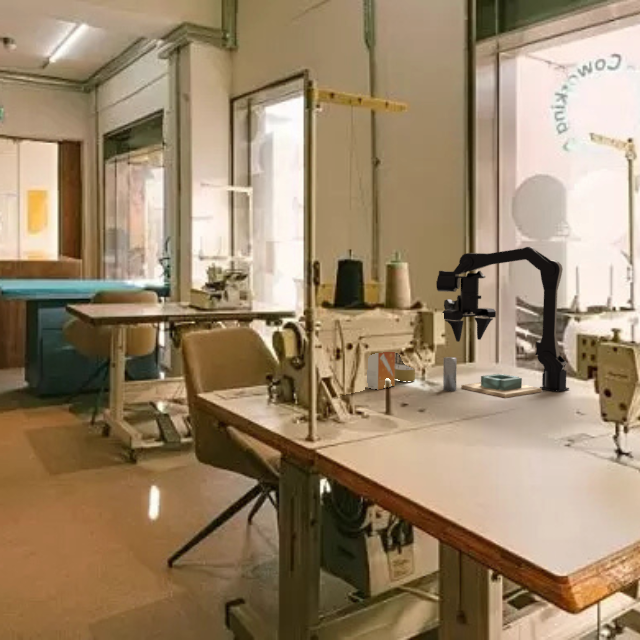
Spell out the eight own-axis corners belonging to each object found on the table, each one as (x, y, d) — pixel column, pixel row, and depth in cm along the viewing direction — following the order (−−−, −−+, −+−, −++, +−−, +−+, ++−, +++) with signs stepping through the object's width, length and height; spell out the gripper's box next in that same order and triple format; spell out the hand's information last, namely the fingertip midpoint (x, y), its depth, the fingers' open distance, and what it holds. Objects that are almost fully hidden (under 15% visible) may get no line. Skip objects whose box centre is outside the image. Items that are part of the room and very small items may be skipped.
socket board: (541, 391, 227) (541, 378, 227) (505, 397, 218) (505, 384, 218) (496, 382, 242) (497, 370, 242) (461, 388, 233) (461, 375, 233)
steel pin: (459, 390, 230) (459, 358, 229) (449, 391, 228) (449, 359, 227) (449, 388, 233) (450, 356, 232) (440, 389, 231) (440, 357, 230)
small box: (378, 390, 230) (378, 348, 229) (363, 387, 235) (363, 346, 234) (395, 387, 236) (395, 346, 235) (380, 384, 240) (380, 344, 239)
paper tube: (414, 379, 249) (415, 304, 247) (415, 382, 243) (416, 306, 240) (394, 378, 250) (394, 304, 248) (394, 382, 243) (394, 306, 241)
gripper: (473, 290, 251) (472, 336, 253) (430, 292, 241) (430, 339, 243) (497, 291, 242) (496, 339, 243) (454, 293, 232) (453, 343, 233)
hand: (468, 340), depth 241 cm, fingers open, 9 cm apart
